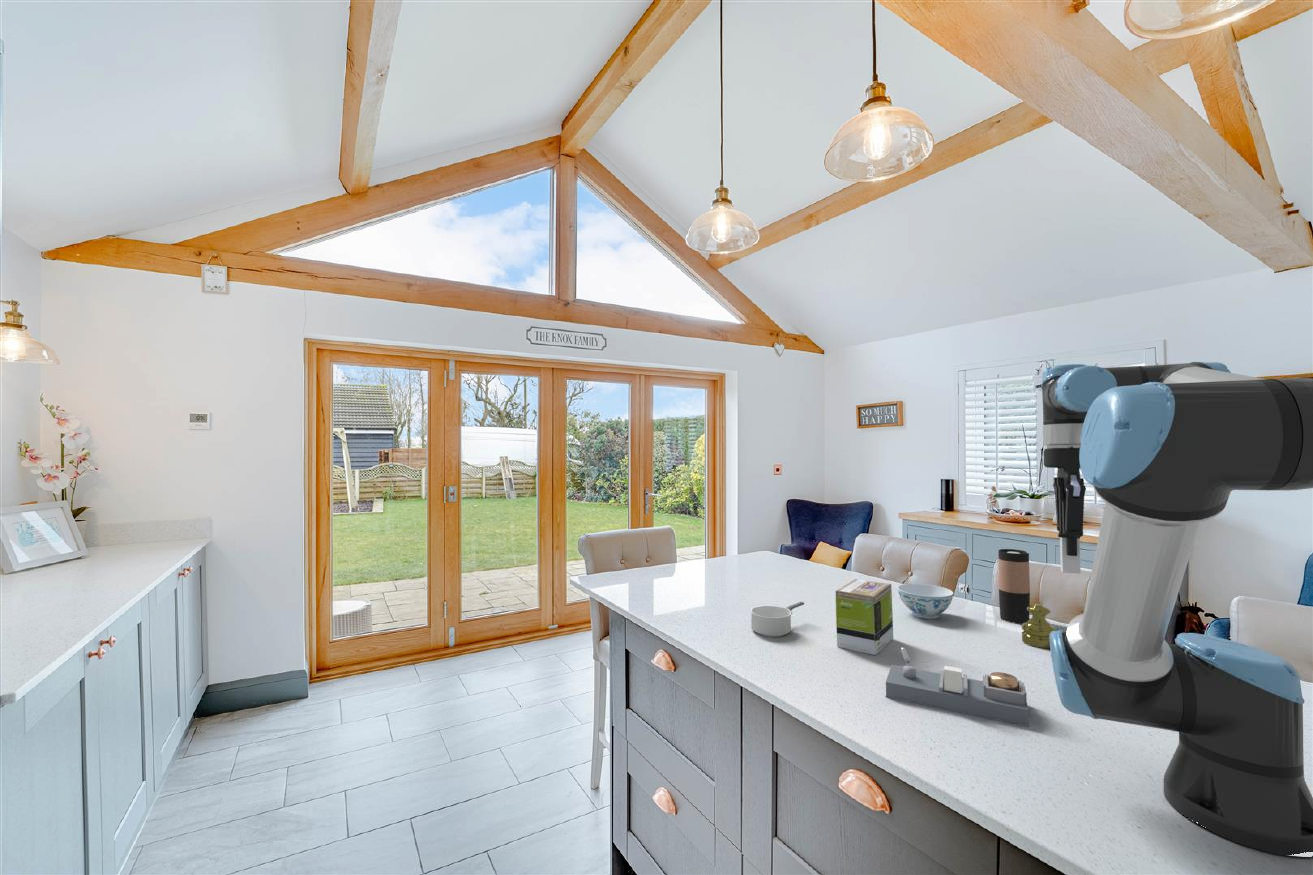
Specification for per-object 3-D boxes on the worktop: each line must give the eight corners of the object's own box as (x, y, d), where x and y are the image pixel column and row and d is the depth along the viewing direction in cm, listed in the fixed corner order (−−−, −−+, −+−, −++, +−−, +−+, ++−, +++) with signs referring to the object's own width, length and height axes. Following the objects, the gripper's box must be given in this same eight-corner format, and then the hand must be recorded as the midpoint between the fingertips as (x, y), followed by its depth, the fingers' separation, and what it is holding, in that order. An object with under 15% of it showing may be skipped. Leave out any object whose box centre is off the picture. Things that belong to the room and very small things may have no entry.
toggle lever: (910, 663, 112) (904, 648, 112) (905, 663, 112) (899, 648, 113) (910, 661, 113) (905, 646, 113) (905, 662, 113) (900, 647, 114)
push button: (1018, 696, 101) (1018, 683, 101) (991, 691, 103) (990, 678, 103) (1016, 687, 105) (1016, 674, 105) (990, 683, 107) (989, 670, 107)
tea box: (856, 631, 149) (855, 577, 149) (894, 639, 143) (893, 583, 143) (835, 647, 138) (834, 588, 138) (876, 656, 131) (875, 595, 131)
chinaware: (887, 610, 168) (886, 585, 168) (926, 606, 172) (925, 581, 172) (924, 625, 153) (924, 598, 154) (965, 620, 158) (965, 594, 158)
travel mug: (993, 617, 160) (992, 550, 161) (1009, 614, 164) (1008, 548, 164) (1019, 625, 153) (1018, 554, 154) (1036, 621, 157) (1035, 552, 157)
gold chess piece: (1057, 651, 134) (1056, 610, 134) (1020, 644, 138) (1020, 605, 139) (1057, 642, 140) (1056, 603, 140) (1022, 636, 144) (1022, 599, 145)
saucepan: (819, 626, 154) (819, 606, 154) (773, 642, 141) (773, 620, 142) (787, 616, 163) (786, 597, 163) (741, 630, 151) (741, 610, 151)
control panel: (1028, 726, 98) (1028, 698, 98) (886, 696, 110) (885, 671, 110) (1023, 703, 107) (1023, 678, 107) (891, 678, 119) (891, 655, 119)
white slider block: (962, 693, 104) (961, 672, 104) (944, 689, 106) (944, 669, 106) (962, 689, 106) (961, 668, 106) (944, 685, 107) (944, 665, 107)
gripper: (1102, 446, 95) (1106, 581, 95) (1083, 447, 107) (1086, 567, 106) (1050, 446, 99) (1053, 577, 98) (1037, 447, 110) (1039, 564, 110)
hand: (1070, 572), depth 102 cm, fingers closed
